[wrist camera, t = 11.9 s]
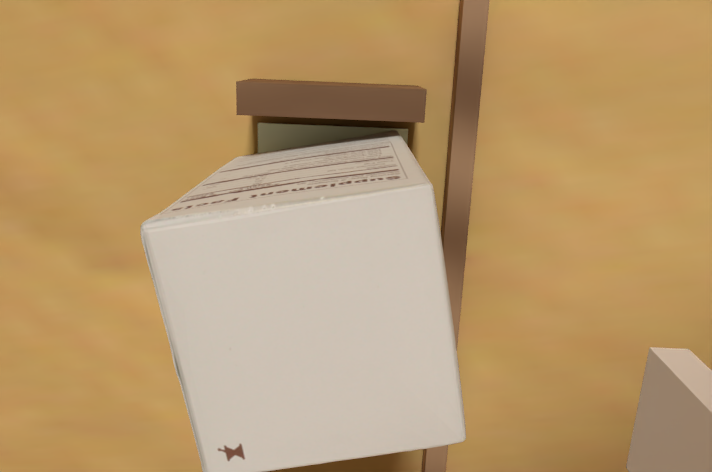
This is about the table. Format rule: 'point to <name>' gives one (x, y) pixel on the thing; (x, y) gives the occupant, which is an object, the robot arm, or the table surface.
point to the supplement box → (309, 307)
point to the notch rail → (403, 107)
